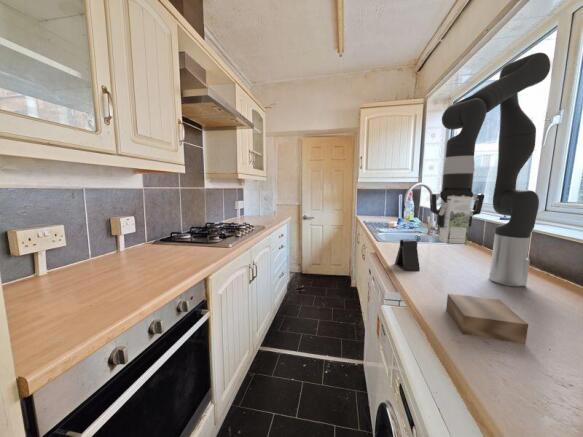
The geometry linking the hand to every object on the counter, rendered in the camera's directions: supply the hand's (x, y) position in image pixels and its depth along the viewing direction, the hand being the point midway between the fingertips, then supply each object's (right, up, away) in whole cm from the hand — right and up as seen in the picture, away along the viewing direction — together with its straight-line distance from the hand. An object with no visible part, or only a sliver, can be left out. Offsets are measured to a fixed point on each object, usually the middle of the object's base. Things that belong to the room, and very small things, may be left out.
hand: (453, 227), depth 75 cm
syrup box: (0, -5, +1) cm, 5 cm away
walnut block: (-2, -24, -14) cm, 28 cm away
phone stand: (-1, -18, +28) cm, 34 cm away
